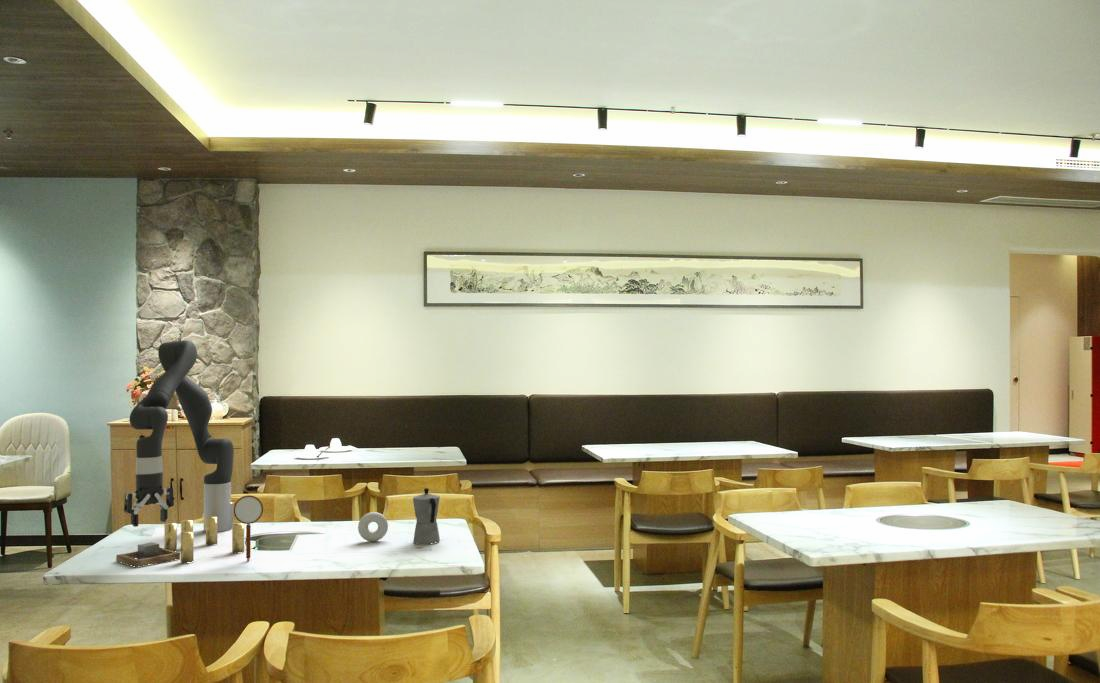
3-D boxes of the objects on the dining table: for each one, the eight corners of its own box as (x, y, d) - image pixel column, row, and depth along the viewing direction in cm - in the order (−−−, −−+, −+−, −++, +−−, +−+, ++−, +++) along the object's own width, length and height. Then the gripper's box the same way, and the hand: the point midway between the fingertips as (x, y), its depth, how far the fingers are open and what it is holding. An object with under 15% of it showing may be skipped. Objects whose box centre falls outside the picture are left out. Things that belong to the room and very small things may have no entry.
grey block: (152, 558, 254) (152, 542, 254) (159, 560, 251) (159, 544, 252) (137, 561, 251) (137, 544, 251) (144, 563, 248) (144, 546, 248)
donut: (357, 543, 273) (357, 513, 273) (357, 541, 276) (357, 511, 277) (388, 541, 275) (388, 512, 276) (388, 539, 279) (387, 510, 279)
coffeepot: (407, 539, 279) (407, 486, 279) (434, 536, 283) (433, 484, 283) (420, 548, 265) (420, 492, 265) (448, 545, 269) (448, 490, 269)
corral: (159, 553, 260) (159, 547, 260) (179, 559, 252) (180, 552, 252) (116, 561, 250) (116, 554, 250) (136, 567, 242) (136, 561, 242)
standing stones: (212, 542, 277) (212, 515, 277) (249, 551, 263) (249, 523, 263) (148, 554, 260) (148, 525, 260) (184, 564, 246) (184, 534, 246)
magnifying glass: (263, 559, 251) (263, 494, 251) (262, 561, 249) (262, 495, 250) (234, 561, 249) (234, 495, 250) (232, 562, 248) (233, 496, 248)
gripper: (165, 467, 260) (166, 518, 260) (119, 473, 249) (120, 526, 248) (177, 469, 255) (178, 521, 255) (131, 475, 244) (131, 529, 244)
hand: (149, 523), depth 252 cm, fingers open, 8 cm apart
